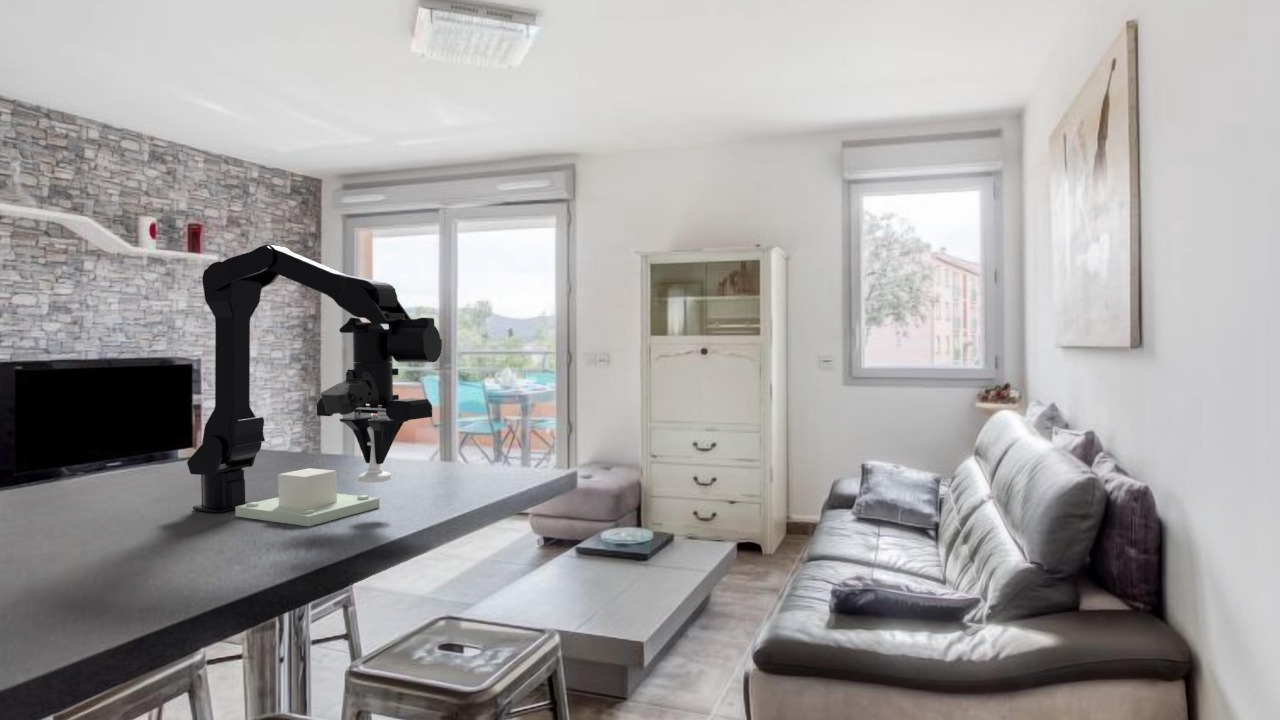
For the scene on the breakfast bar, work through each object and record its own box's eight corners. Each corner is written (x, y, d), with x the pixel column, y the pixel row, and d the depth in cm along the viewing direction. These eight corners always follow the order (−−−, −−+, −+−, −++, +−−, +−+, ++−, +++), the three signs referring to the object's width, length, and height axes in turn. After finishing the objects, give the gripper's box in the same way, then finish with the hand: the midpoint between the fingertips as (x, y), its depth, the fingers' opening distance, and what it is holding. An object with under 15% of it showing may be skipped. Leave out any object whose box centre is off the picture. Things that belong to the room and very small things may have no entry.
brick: (278, 506, 121) (277, 474, 120) (310, 498, 126) (309, 468, 126) (306, 509, 118) (305, 476, 118) (336, 501, 123) (336, 470, 123)
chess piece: (381, 483, 117) (379, 417, 117) (351, 482, 118) (350, 416, 118) (397, 477, 122) (396, 413, 121) (369, 476, 123) (368, 413, 122)
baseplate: (235, 516, 121) (235, 504, 120) (309, 499, 133) (309, 488, 133) (308, 526, 114) (308, 513, 113) (379, 507, 126) (379, 495, 126)
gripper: (286, 363, 116) (288, 467, 116) (380, 365, 108) (381, 476, 108) (344, 361, 126) (345, 456, 126) (434, 362, 118) (435, 464, 118)
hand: (374, 463), depth 120 cm, fingers closed on chess piece
